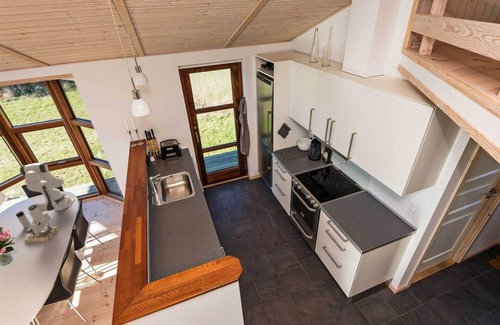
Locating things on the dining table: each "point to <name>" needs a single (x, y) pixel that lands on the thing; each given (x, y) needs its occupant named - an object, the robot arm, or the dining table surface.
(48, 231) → the knob
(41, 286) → the dining table surface
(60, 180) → the robot arm
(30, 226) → the knob
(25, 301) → the dining table surface
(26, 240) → the panel
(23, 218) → the travel mug
